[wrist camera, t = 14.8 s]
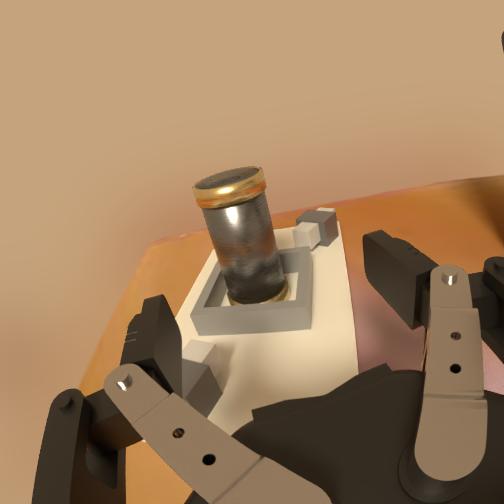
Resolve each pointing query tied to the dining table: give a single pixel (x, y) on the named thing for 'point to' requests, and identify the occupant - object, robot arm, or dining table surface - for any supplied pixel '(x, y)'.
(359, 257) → the dining table surface
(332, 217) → the stand
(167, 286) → the dining table surface
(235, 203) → the cylinder
